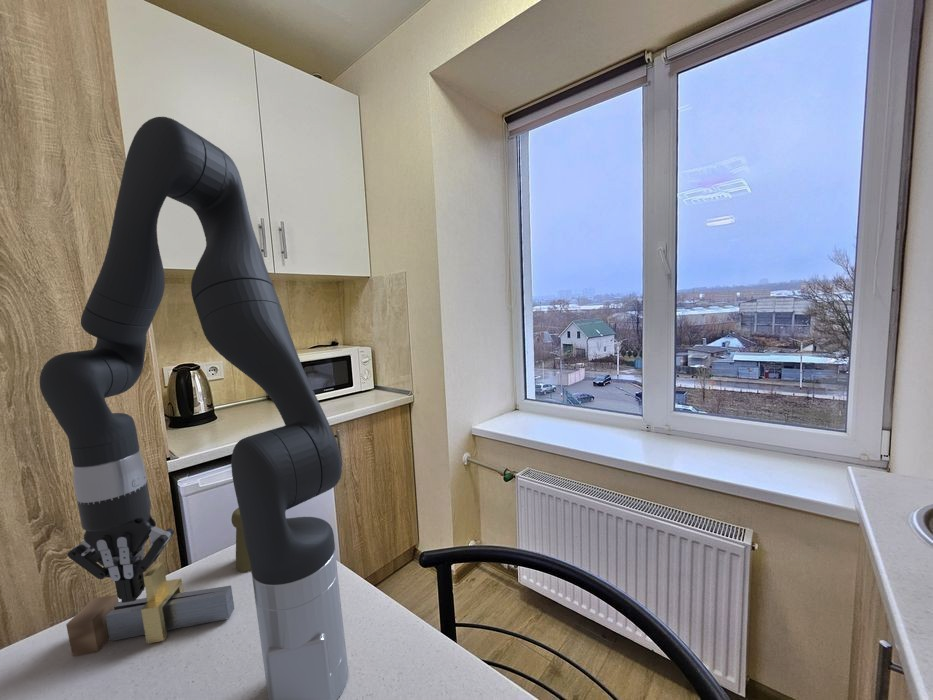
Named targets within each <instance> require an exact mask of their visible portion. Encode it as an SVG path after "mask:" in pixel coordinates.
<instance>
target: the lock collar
mask: <svg viewBox="0 0 933 700" xmlns="http://www.w3.org/2000/svg"><path fill="white" fill-rule="evenodd" d="M143 576H144V583H145V589H144V590H145V593H146V598H147V601H148V602H147V603H146V604H145V606H144V607H143V608H142V609H141V613H142V618H143V624H144V630H145V634H144V635H145V641H146V644H152V643H153V644H154V643H158V642H164V641H165V640H166V639H167V637H168V635H167V630H166V627H165V621H164V615H163V609H162V607H163V606H164V605H165V604H166V602H167V601H168V600H169V599H170V597H171V596H172V595H173V594H176V593H183V592H184V586H183V581H182V578H175V579H167V575H166V569H165V563H164V562H157V563H156V562H155V564H154V565H153V566H152V567H151V568H150V569H148V571H147V573H146V574H144V575H143Z"/></svg>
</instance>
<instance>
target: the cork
mask: <svg viewBox="0 0 933 700" xmlns="http://www.w3.org/2000/svg"><path fill="white" fill-rule="evenodd" d="M231 524H232V526H233V527H234V528H235V529H236V530H235V570H236V571H237V572H240V573H249V572H251V566H250V560H249V557H248V553H247V549H246V545H245V540H244V534H243V528H242V521H241V516H240V511H239V507H237V508H236V509H235V510H234V511H233V512H232V515H231ZM248 571H249V572H248Z"/></svg>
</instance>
